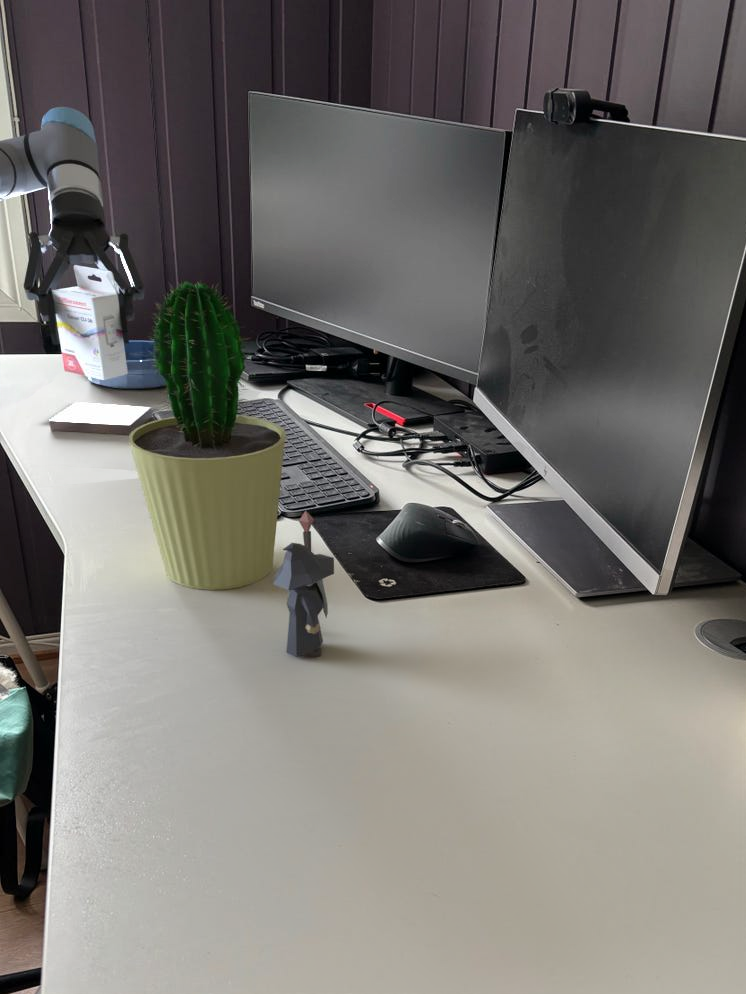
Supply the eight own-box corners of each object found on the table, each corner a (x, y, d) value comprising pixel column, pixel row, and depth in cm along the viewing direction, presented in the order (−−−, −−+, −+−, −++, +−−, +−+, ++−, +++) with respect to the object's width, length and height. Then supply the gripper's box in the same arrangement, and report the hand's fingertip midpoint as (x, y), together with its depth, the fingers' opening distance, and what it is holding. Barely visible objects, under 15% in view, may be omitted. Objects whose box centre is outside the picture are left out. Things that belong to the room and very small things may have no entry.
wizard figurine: (345, 660, 88) (343, 540, 82) (285, 671, 86) (279, 548, 80) (318, 621, 94) (314, 506, 88) (262, 630, 92) (254, 513, 86)
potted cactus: (321, 569, 105) (312, 280, 90) (201, 613, 94) (169, 295, 80) (236, 528, 113) (215, 259, 99) (117, 565, 103) (74, 270, 88)
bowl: (73, 387, 163) (69, 358, 161) (108, 365, 177) (104, 338, 175) (168, 393, 163) (165, 363, 161) (195, 371, 177) (193, 343, 175)
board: (50, 430, 142) (48, 420, 142) (77, 412, 151) (75, 402, 150) (131, 435, 142) (129, 425, 142) (152, 416, 151) (151, 407, 150)
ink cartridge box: (62, 371, 143) (45, 267, 136) (88, 365, 147) (73, 263, 140) (104, 381, 140) (89, 274, 132) (129, 374, 143) (116, 270, 136)
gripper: (154, 225, 150) (169, 351, 144) (2, 222, 143) (13, 354, 138) (151, 190, 143) (167, 322, 137) (-8, 186, 136) (2, 324, 131)
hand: (90, 338), depth 138 cm, fingers closed on ink cartridge box, 9 cm apart
